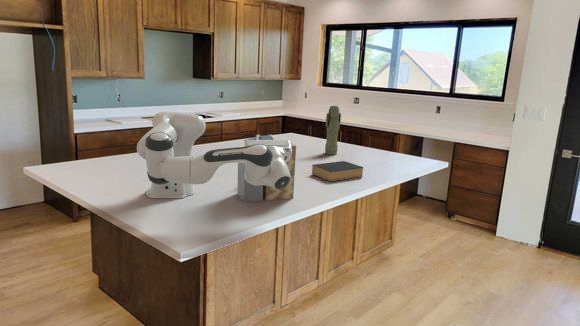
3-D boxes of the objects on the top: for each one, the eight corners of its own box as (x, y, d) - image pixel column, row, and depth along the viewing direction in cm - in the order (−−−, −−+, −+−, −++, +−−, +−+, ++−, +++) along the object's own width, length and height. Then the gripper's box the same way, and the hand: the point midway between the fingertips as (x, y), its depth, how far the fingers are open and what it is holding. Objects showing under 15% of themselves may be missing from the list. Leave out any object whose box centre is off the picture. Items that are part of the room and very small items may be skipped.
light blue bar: (261, 144, 189) (261, 135, 189) (244, 148, 213) (244, 139, 213) (270, 144, 191) (269, 135, 191) (252, 147, 215) (252, 139, 215)
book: (311, 175, 258) (312, 164, 256) (343, 171, 272) (343, 160, 270) (330, 182, 244) (331, 171, 243) (362, 177, 258) (363, 167, 257)
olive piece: (320, 153, 320) (324, 105, 312) (332, 151, 327) (336, 105, 319) (328, 155, 313) (332, 107, 305) (340, 154, 320) (344, 106, 312)
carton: (265, 200, 207) (268, 146, 201) (258, 192, 218) (260, 141, 212) (293, 198, 212) (296, 145, 206) (284, 191, 223) (287, 140, 217)
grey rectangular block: (243, 202, 202) (244, 168, 199) (237, 193, 214) (238, 162, 210) (262, 200, 205) (263, 168, 202) (254, 192, 217) (255, 161, 214)
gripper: (247, 162, 181) (239, 141, 191) (292, 161, 189) (283, 140, 198) (249, 151, 177) (242, 130, 187) (295, 150, 185) (286, 130, 194)
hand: (263, 135), depth 193 cm, fingers closed on light blue bar, 4 cm apart
